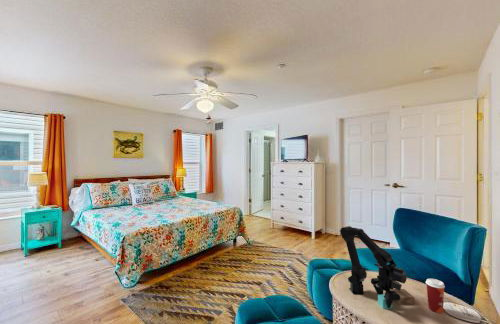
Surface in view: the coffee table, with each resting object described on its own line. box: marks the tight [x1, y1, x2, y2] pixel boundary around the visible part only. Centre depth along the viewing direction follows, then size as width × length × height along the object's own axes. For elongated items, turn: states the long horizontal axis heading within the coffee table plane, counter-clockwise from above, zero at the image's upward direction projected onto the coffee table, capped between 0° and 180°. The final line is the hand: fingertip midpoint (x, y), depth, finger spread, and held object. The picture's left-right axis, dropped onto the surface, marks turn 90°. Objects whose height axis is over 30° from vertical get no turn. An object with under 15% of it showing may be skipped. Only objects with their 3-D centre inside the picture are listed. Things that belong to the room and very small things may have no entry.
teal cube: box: [377, 294, 393, 310], centre depth 130 cm, size 5×5×5 cm
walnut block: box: [390, 288, 415, 305], centre depth 136 cm, size 9×9×4 cm
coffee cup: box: [425, 278, 446, 314], centre depth 127 cm, size 8×8×15 cm
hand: (384, 304), depth 130 cm, fingers open, 7 cm apart
